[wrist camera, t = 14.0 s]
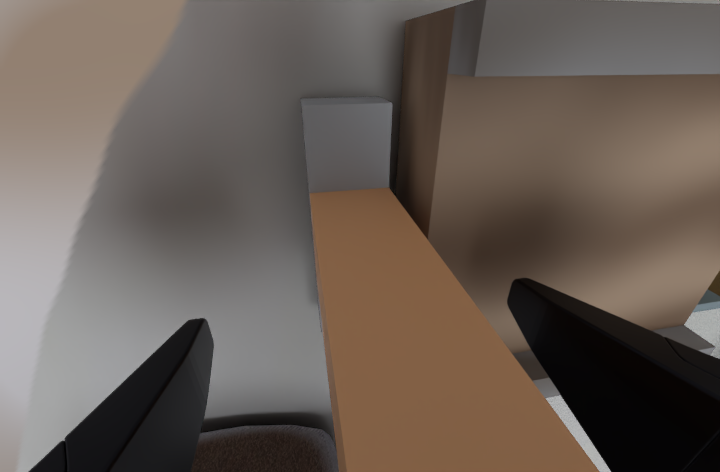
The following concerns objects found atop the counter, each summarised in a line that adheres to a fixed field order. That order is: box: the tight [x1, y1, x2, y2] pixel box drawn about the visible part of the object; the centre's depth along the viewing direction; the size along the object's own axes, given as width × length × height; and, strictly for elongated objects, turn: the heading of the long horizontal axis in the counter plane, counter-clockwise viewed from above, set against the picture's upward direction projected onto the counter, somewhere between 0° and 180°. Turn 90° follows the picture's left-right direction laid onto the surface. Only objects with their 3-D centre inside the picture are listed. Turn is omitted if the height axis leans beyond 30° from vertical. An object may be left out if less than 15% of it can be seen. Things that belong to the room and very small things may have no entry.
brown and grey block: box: [301, 97, 599, 472], centre depth 10 cm, size 10×3×12 cm, turn 179°
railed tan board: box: [396, 0, 720, 398], centre depth 14 cm, size 15×15×6 cm
